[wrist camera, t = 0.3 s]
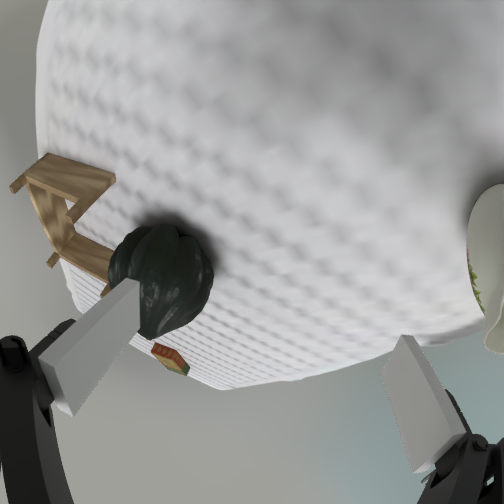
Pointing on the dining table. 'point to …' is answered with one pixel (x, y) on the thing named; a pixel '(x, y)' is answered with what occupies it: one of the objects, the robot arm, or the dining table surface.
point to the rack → (57, 215)
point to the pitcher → (488, 262)
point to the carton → (170, 359)
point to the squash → (163, 277)
